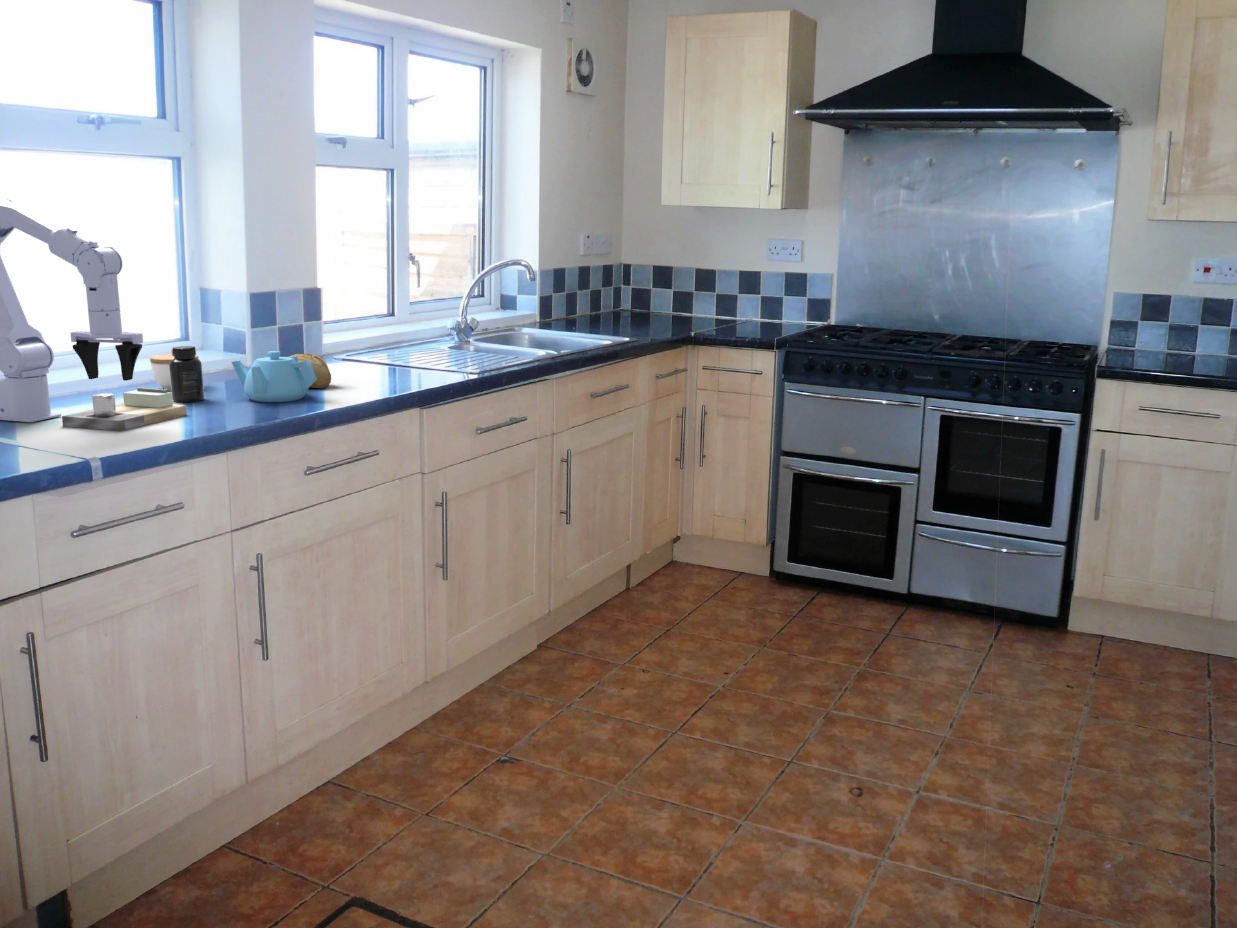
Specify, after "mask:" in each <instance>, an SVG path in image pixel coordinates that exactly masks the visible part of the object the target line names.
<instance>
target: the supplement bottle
mask: <svg viewBox="0 0 1237 928" xmlns="http://www.w3.org/2000/svg"><path fill="white" fill-rule="evenodd" d="M172 349H173V356H174V359H173V360H171V361H170V363H169V370H170V381H171V390H170V392H172V397H173V403H174V402H175V403H193V402H195V403H196V402H201V401H203V400H204V399H205V388H204V387H205V386H204V377H203V366H202V365H203V364H202V361H201V360H200V359H199V358H198V359H197V358H196V357H195V355H197V351H196V347H195V346H194V345H193V346H192V345H191V346H190V345H187V346H185V345H182V346H181V345H180V346H174V347H172ZM172 349H171V350H172Z"/></svg>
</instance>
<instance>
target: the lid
mask: <svg viewBox="0 0 1237 928" xmlns="http://www.w3.org/2000/svg"><path fill="white" fill-rule="evenodd" d="M122 394H123V395H122V396H123V397H122V398H123V403H124V405H128V406H141V407H154V408H162V407H166V406H170V405H173V404H174V401H173V397H172V391H170V392H169V391H168V390H167V389H163V388H149V387H137V388H136V390H130V391H126V392H125V391H124V392H123V393H122Z"/></svg>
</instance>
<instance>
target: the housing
mask: <svg viewBox="0 0 1237 928" xmlns="http://www.w3.org/2000/svg"><path fill="white" fill-rule="evenodd" d="M115 407H116V416H114V417H109V418H99V417H94V411H93V409H90V410H84V411H79V412H75V413H70V414H66V415H61V421H62V427H69V428H70V427H71V428H81V429H82V428H83V429H90V430H91V429H93V430H105V431H115V432H116V431H117V432H121V431H127V430H131V429H133V428H139V427H142V426H146V425H147V426H148V425H150V424H155V423H159V422H162V421H167V420H172V419H175V418H180V417H183V416H187V415H188V411H187V410H188V408H187V405H186V404H185V405H184V404H174V403H173V405H170V406H166V407H162V408H154V407H141V406H128V405H124V402H123V403H118V404H115Z"/></svg>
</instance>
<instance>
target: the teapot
mask: <svg viewBox="0 0 1237 928" xmlns="http://www.w3.org/2000/svg"><path fill="white" fill-rule="evenodd" d="M267 355H268V356H267V357H265V356H264V357H260V358H256V359H255V360H254V361H253V363H252V365H251V366H250V368H249V370H248V369H247V367H245V365H244V364H243V363H242V362H241V360H232V361H231V365H232V367H233V368H234V370H235V372H236V375H237V376H238V379H239V380H240V383H241V385H242V387H243V391H244V395H246V396H247V398H248V399H249V400H250V401H253V402H259V403H284V402H294V401H297V400H301V399H303V398H304V397H305V396H306V394H307V393H308V391H309V388H311V387H310V386H311V385H312V384H313V383H314V382H315V381H316V380H317V378H316V375H315V373H314V370H313V367H312V364H311V361H310V360H308V361H302V362H298V356H292V355H290V356H291V357H289V356H280V355H281V351H279V350H270V351H267ZM301 366H302V369H303V371H302V370H301V368H300V367H301ZM303 372H304V373H303Z"/></svg>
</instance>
